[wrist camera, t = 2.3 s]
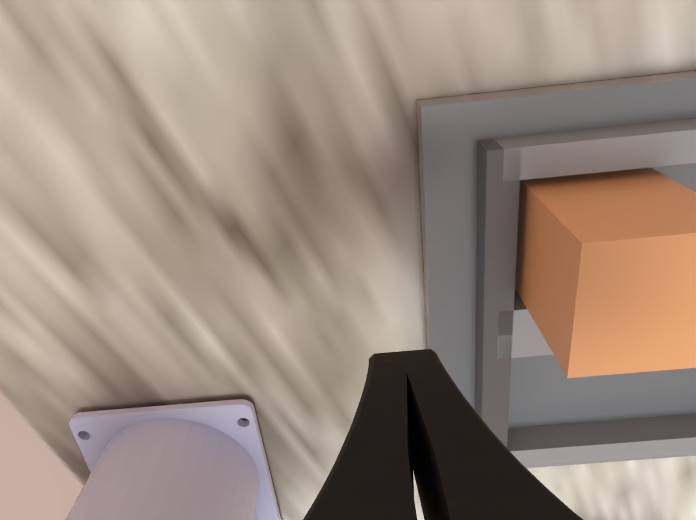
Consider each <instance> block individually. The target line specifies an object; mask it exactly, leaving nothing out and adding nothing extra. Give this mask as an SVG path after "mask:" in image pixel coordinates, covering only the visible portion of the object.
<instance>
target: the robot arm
mask: <svg viewBox="0 0 696 520" xmlns="http://www.w3.org/2000/svg"><path fill="white" fill-rule="evenodd" d="M241 418H246V419H247V421H245V420H242V419H241ZM69 427H70V429H71V431H72V434H73V436H74V438H75V440H76V442H77V445H78V447H79V449H80V451H81V453H82V455H83V458H84V460H85V462H86V464H87V466H88V468H89V471H90V473H91V474H90V476H89V478H88V479H87V481H86V483H85V485H84V487H83V489H82V491H81V493H80V494H79V496H78V498H77V500H76V502H75V504H74V505H73V507H72V509H71V511H70V513H69V515H68V517H67V518H66V520H281V517H280V512H279V508H278V504H277V500H276V496H275V492H274V488H273V483H272V479H271V475H270V471H269V467H268V463H267V458H266V454H265V450H264V446H263V442H262V438H261V434H260V429H259V425H258V421H257V417H256V413H255V409H254V406H253V404H252V403H251V402H250V401H248V400H245V399H236V400H223V401H211V402H199V403H187V404H175V405H163V406H150V407H138V408H126V409H114V410H102V411H90V412H79V413H76V414H74V415H73V417H72V418H71V420H70V422H69ZM84 431H86V432H88V433H86V432H84ZM413 471H414V475H415V480H416V484H417V488H418V493H419V497H420V501H421V506H422V510H423V515H424V519H425V520H583V519H582V518H580V517H579V516H578V515H577V514H575V513H574V512H573V511H572V510H571V509H569V508H568V507H567V506H566V505H565V504H564V503H563V502H562V501H560V500H559V499H558V498H557V497H556V496H555V495H554V494H553V493H552V492H551V491H549V490H548V489H547V488H546V487H545V486H544V485H543V484H542V483H541V482H540V481H539V480H538V479H537V478H536V477H535V476H534V475H533V474H531V473H530V472H529V471H528V470H527V469H526V468H525V467H524V466H523V465H522V464H521V463H520V462H519V460H518V459H517V458H516V457H515V456H514V455H513V454H512V453H511V452H510V451H509V450H508V449H507V448H506V447H505V445H504V444H503V443H502V442H501V441H500V440H499V439H498V438H497V436H496V435H495V434H494V433H493V432H492V431H491V430H490V428H489V427H488V426H487V425H486V424H485V422H484V421H483V420H482V419H481V418H480V416H479V415H478V414H477V412H476V411H475V410H474V409H473V407H472V406H471V405H470V404H469V402H468V401H467V400H466V398H465V397H464V396H463V394H462V393H461V392H460V390H459V389H458V387H457V386H456V384H455V383H454V381H453V380H452V379H451V377H450V376H449V374H448V372H447V371H446V369H445V368H444V366H443V364H442V363H441V361H440V359H439V357H438V355H437V353H436V352H434V351H433V350H432V349H425V350H413V351H401V352H390V353H378V354H373V355H372V356H371V357H370V358H369V368H368V373H367V378H366V382H365V386H364V390H363V393H362V397H361V400H360V403H359V405H358V408H357V411H356V414H355V417H354V420H353V422H352V425H351V428H350V430H349V432H348V435H347V437H346V439H345V441H344V444H343V446H342V448H341V451H340V453H339V455H338V457H337V459H336V462H335V464H334V466H333V468H332V470H331V472H330V474H329V476H328V477H327V479H326V481H325V483H324V485H323V487H322V489H321V490H320V492H319V494H318V496H317V498H316V499H315V501H314V503H313V504H312V506H311V508H310V509H309V511H308V513H307V514H306V516H305V517H304V519H303V520H417V516H416V509H415V502H414V485H413Z"/></svg>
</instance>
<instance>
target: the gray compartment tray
mask: <svg viewBox="0 0 696 520" xmlns="http://www.w3.org/2000/svg"><path fill="white" fill-rule="evenodd" d="M416 101H417V124H418V148H419V172H420V196H421V219H422V243H423V267H424V290H425V314H426V338H427V349H432V350H433V351H434V352H436V353H437V355H438V357H439V359H440V361H441V363H442V364H443V366H444V368H445V369H446V371H447V372H448V374H449V376H450V377H451V379H452V380H453V381H454V383H455V384H456V386H457V387H458V389H459V390H460V392H461V393H462V394H463V396H464V397H465V398H466V400H467V401H468V402H469V404H470V405H471V406H472V407H473V409H474V410H475V411H476V412H477V414H478V415H479V416H480V418H481V419H482V420H483V421H484V422H485V424H486V425H487V426H488V427H489V428H490V430H491V431H492V432H493V433H494V434H495V435H496V436H497V438H498V439H499V440H500V441H501V442H502V443H503V444H504V445H505V447H506V448H507V449H508V450H509V451H510V452H511V453H512V454H513V455H514V456H515V457H516V458H517V459H518V460H519V462H520V463H521V464H522V465H523V466H524V467H525V468H534V467H547V466H561V465H574V464H588V463H601V462H615V461H628V460H641V459H655V458H668V457H682V456H695V455H696V368H686V369H674V370H661V371H649V372H637V373H625V374H612V375H600V376H588V377H576V378H567V377H566V375H565V373H564V372H563V370H562V368H561V366H560V365H559V363H558V361H557V360H556V358H555V356H554V354H553V353H552V351H551V349H550V348H549V346H548V344H547V342H546V341H545V339H544V337H543V336H542V334H541V332H540V330H539V329H538V327H537V325H536V324H535V322H534V320H533V318H532V317H531V315H530V313H529V312H528V310H527V308H526V306H525V305H524V303H523V301H522V299H521V298H520V296H519V294H518V293H517V291H516V289H515V284H516V263H517V243H518V222H519V202H520V181H521V180H528V179H538V178H548V177H558V176H568V175H578V174H589V173H599V172H609V171H619V170H629V169H639V168H649V167H651V168H653V169H655V170H656V171H658V172H660V173H662V174H664V175H665V176H667V177H669V178H671V179H673V180H674V181H676V182H678V183H680V184H682V185H683V186H685V187H687V188H689V189H691V190H692V191H694V192H696V71H686V72H677V73H667V74H658V75H649V76H639V77H630V78H620V79H611V80H601V81H592V82H582V83H573V84H564V85H554V86H545V87H535V88H526V89H516V90H507V91H498V92H488V93H479V94H469V95H460V96H450V97H441V98H432V99H422V100H416Z"/></svg>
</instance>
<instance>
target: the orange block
mask: <svg viewBox="0 0 696 520" xmlns="http://www.w3.org/2000/svg"><path fill="white" fill-rule="evenodd" d="M515 289H516V291H517V293H518V294H519V296H520V298H521V299H522V301H523V303H524V305H525V306H526V308H527V310H528V312H529V313H530V315H531V317H532V318H533V320H534V322H535V324H536V325H537V327H538V329H539V330H540V332H541V334H542V336H543V337H544V339H545V341H546V342H547V344H548V346H549V348H550V349H551V351H552V353H553V354H554V356H555V358H556V360H557V361H558V363H559V365H560V366H561V368H562V370H563V372H564V373H565V375H566V377H567V378H576V377H588V376H600V375H612V374H625V373H637V372H649V371H661V370H674V369H686V368H696V192H694V191H692V190H691V189H689V188H687V187H685V186H683V185H682V184H680V183H678V182H676V181H674V180H673V179H671V178H669V177H667V176H665V175H664V174H662V173H660V172H658V171H656V170H655V169H653V168H651V167H649V168H639V169H629V170H619V171H609V172H599V173H589V174H578V175H568V176H558V177H548V178H538V179H528V180H521V181H520V202H519V222H518V243H517V263H516V284H515Z"/></svg>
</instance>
